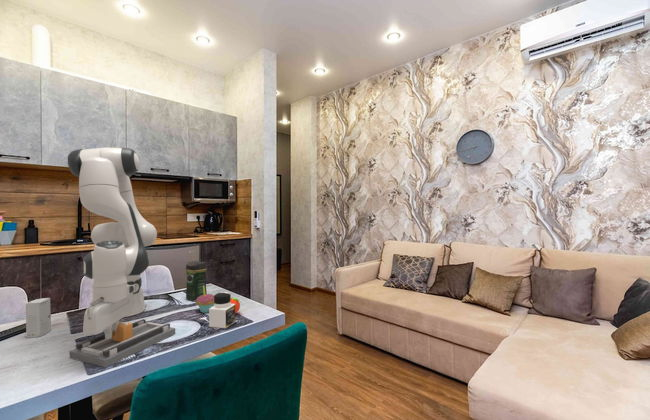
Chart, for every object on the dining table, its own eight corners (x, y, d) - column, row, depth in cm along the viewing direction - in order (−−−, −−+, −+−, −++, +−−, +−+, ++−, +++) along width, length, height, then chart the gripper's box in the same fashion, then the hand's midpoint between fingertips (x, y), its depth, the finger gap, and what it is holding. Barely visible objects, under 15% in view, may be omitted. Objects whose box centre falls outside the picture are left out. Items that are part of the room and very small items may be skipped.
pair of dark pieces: (76, 348, 90) (76, 344, 90) (143, 322, 111) (143, 319, 111) (105, 356, 85) (105, 352, 85) (169, 327, 106) (169, 324, 106)
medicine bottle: (226, 328, 111) (225, 296, 111) (208, 327, 112) (208, 295, 112) (235, 321, 118) (235, 291, 118) (219, 320, 119) (219, 290, 119)
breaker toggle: (112, 340, 96) (112, 322, 96) (122, 336, 99) (121, 319, 99) (123, 342, 94) (123, 325, 94) (132, 338, 97) (132, 321, 97)
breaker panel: (69, 357, 90) (69, 345, 90) (143, 327, 112) (142, 318, 112) (105, 367, 84) (105, 354, 84) (175, 333, 106) (175, 323, 106)
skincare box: (40, 336, 104) (40, 302, 104) (25, 338, 103) (24, 303, 103) (51, 329, 110) (51, 297, 110) (37, 331, 109) (36, 298, 109)
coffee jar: (209, 298, 148) (209, 261, 148) (195, 302, 142) (195, 263, 142) (197, 295, 154) (197, 259, 153) (183, 299, 147) (183, 261, 147)
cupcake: (210, 314, 126) (209, 286, 125) (191, 313, 127) (191, 285, 127) (220, 307, 134) (220, 281, 134) (202, 307, 135) (202, 280, 135)
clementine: (244, 312, 129) (244, 295, 129) (238, 318, 122) (238, 300, 122) (227, 311, 129) (227, 295, 129) (220, 317, 122) (220, 300, 122)
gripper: (100, 303, 83) (100, 352, 83) (137, 284, 104) (137, 324, 104) (75, 304, 82) (76, 354, 83) (118, 285, 103) (118, 325, 103)
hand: (110, 337), depth 93 cm, fingers closed
